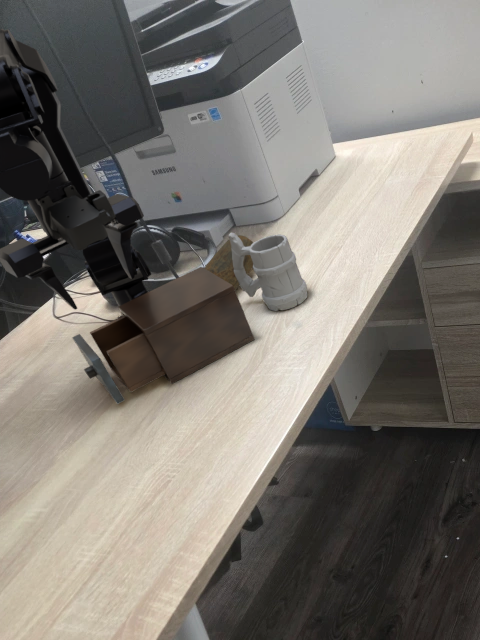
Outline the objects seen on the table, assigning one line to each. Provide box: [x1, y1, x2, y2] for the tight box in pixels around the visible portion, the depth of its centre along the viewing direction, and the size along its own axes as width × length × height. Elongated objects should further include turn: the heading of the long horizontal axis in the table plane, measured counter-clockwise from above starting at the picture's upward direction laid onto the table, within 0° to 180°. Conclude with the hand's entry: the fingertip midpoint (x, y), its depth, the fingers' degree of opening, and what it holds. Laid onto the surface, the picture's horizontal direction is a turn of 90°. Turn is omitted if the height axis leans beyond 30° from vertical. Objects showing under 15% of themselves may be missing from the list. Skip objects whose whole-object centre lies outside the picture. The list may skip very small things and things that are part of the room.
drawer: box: [72, 315, 165, 405], centre depth 98 cm, size 15×11×7 cm
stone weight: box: [203, 234, 254, 291], centre depth 117 cm, size 15×7×7 cm, turn 168°
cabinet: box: [117, 266, 255, 384], centre depth 101 cm, size 15×13×9 cm
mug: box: [228, 232, 308, 312], centre depth 106 cm, size 8×12×12 cm, turn 73°
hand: (104, 293), depth 92 cm, fingers open, 9 cm apart
